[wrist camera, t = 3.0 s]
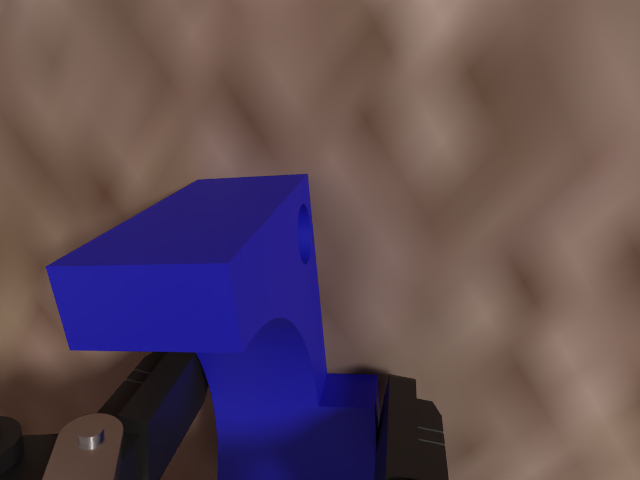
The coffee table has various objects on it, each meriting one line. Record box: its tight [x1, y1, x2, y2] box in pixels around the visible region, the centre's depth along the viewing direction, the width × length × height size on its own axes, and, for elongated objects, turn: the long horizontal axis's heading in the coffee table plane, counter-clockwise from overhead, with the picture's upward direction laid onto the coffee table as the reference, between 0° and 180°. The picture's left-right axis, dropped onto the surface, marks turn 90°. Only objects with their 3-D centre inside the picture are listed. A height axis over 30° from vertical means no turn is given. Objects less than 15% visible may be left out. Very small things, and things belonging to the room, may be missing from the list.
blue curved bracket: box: [46, 174, 380, 480], centre depth 12 cm, size 12×4×6 cm, turn 5°
